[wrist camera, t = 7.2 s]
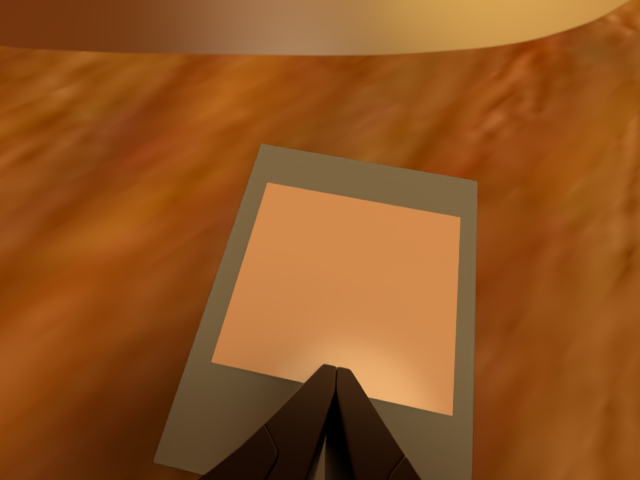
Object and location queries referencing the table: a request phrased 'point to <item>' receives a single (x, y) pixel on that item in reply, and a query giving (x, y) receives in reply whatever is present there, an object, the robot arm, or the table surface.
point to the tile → (348, 296)
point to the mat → (272, 392)
